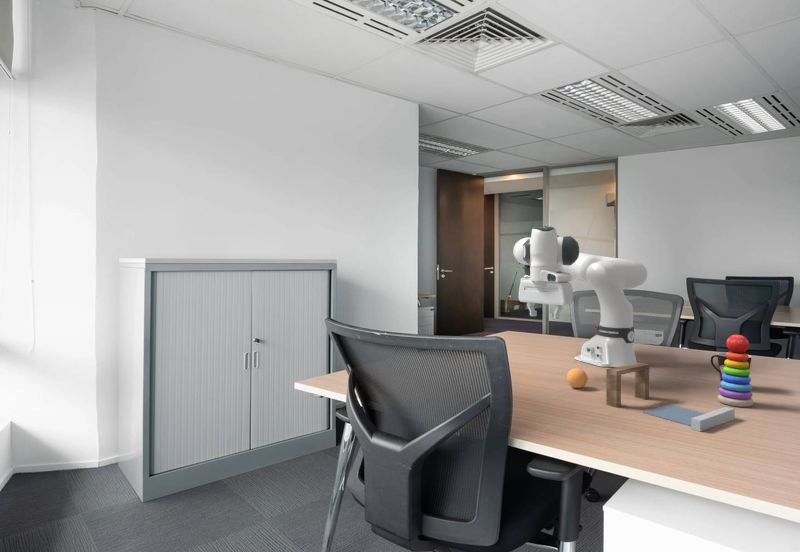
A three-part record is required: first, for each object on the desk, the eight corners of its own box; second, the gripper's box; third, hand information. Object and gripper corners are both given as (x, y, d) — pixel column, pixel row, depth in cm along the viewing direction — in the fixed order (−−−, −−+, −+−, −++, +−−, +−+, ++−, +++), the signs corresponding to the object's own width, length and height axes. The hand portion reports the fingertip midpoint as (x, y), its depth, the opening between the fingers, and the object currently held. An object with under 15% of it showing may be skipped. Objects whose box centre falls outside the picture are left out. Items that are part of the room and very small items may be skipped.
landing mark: (642, 412, 124) (642, 411, 124) (669, 404, 130) (669, 404, 130) (691, 426, 114) (691, 425, 114) (717, 417, 120) (717, 416, 120)
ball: (562, 387, 149) (562, 367, 149) (575, 384, 153) (575, 365, 152) (578, 391, 144) (578, 371, 144) (591, 388, 147) (591, 369, 147)
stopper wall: (691, 429, 112) (691, 418, 112) (725, 416, 120) (725, 406, 120) (700, 431, 110) (700, 420, 110) (734, 418, 118) (734, 408, 118)
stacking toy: (743, 409, 126) (744, 338, 125) (711, 401, 133) (712, 334, 132) (759, 405, 129) (760, 335, 129) (727, 397, 136) (728, 331, 136)
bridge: (606, 404, 131) (606, 369, 131) (639, 395, 139) (639, 362, 139) (616, 407, 129) (616, 371, 128) (649, 398, 137) (649, 364, 136)
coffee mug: (757, 392, 141) (757, 358, 141) (724, 390, 143) (724, 357, 143) (737, 382, 153) (738, 350, 152) (707, 381, 154) (708, 350, 154)
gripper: (514, 275, 166) (514, 315, 166) (562, 276, 148) (562, 321, 149) (527, 274, 169) (527, 314, 169) (575, 276, 151) (575, 319, 152)
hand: (544, 317), depth 159 cm, fingers open, 8 cm apart
